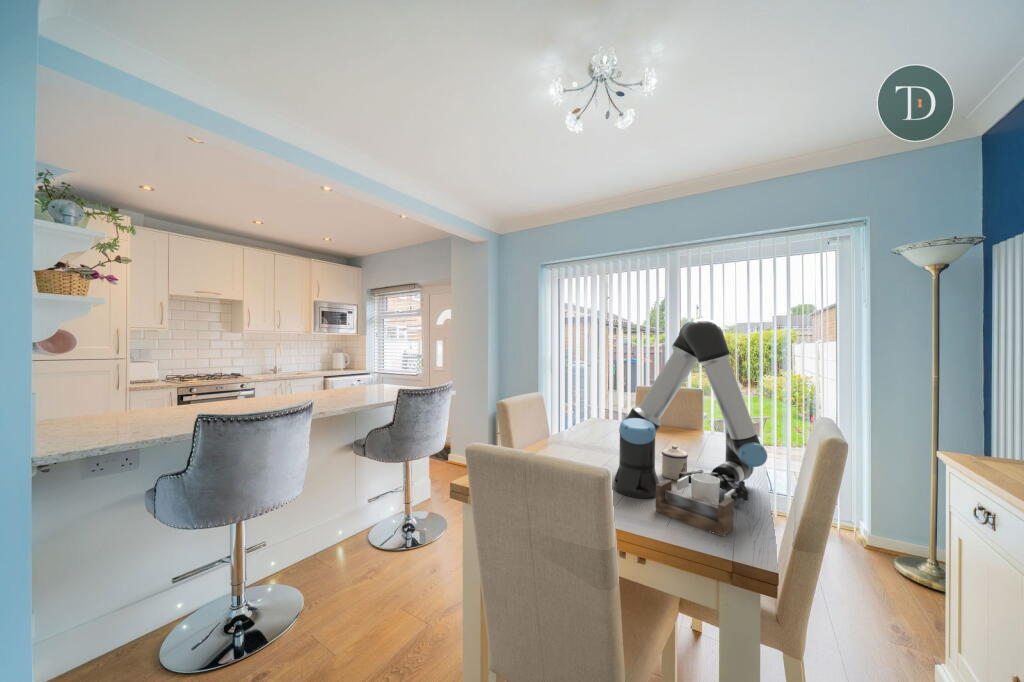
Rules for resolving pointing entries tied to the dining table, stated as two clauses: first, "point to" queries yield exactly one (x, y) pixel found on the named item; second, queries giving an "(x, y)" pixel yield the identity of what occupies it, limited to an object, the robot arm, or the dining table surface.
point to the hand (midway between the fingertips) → (700, 492)
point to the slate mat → (736, 503)
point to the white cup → (705, 488)
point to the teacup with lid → (673, 462)
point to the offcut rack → (695, 509)
